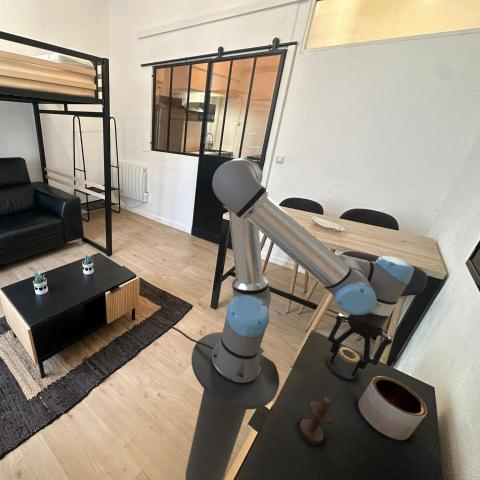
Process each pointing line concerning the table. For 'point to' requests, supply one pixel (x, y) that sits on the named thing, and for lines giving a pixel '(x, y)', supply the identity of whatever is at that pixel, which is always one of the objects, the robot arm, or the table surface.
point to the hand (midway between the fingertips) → (342, 366)
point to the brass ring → (354, 354)
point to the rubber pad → (342, 368)
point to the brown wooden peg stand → (316, 421)
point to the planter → (392, 407)
